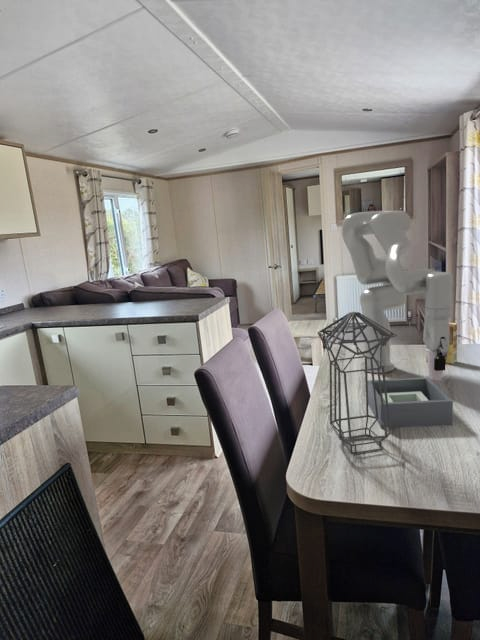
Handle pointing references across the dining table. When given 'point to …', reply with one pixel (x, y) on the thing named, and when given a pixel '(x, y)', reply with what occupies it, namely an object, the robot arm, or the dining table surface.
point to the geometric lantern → (344, 322)
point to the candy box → (452, 344)
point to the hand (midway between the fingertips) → (435, 365)
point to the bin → (411, 403)
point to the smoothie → (432, 364)
